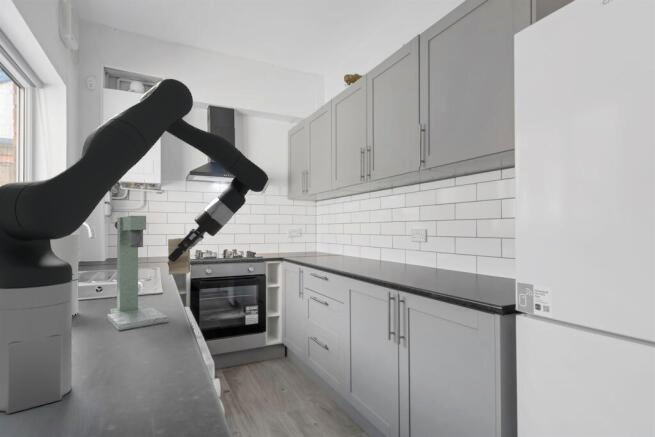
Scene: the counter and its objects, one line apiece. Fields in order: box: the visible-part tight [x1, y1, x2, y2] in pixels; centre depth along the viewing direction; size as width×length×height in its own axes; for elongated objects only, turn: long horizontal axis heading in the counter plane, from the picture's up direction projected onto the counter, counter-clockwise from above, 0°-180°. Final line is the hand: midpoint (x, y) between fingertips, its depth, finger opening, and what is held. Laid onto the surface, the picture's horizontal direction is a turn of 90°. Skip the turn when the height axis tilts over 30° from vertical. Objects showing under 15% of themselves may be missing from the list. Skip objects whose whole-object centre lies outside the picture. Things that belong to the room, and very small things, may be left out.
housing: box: [167, 237, 191, 275], centre depth 102 cm, size 5×5×10 cm
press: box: [107, 215, 169, 332], centre depth 106 cm, size 33×12×30 cm, turn 41°
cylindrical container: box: [50, 234, 80, 316], centre depth 109 cm, size 7×7×25 cm
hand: (172, 258), depth 101 cm, fingers closed on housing, 5 cm apart
